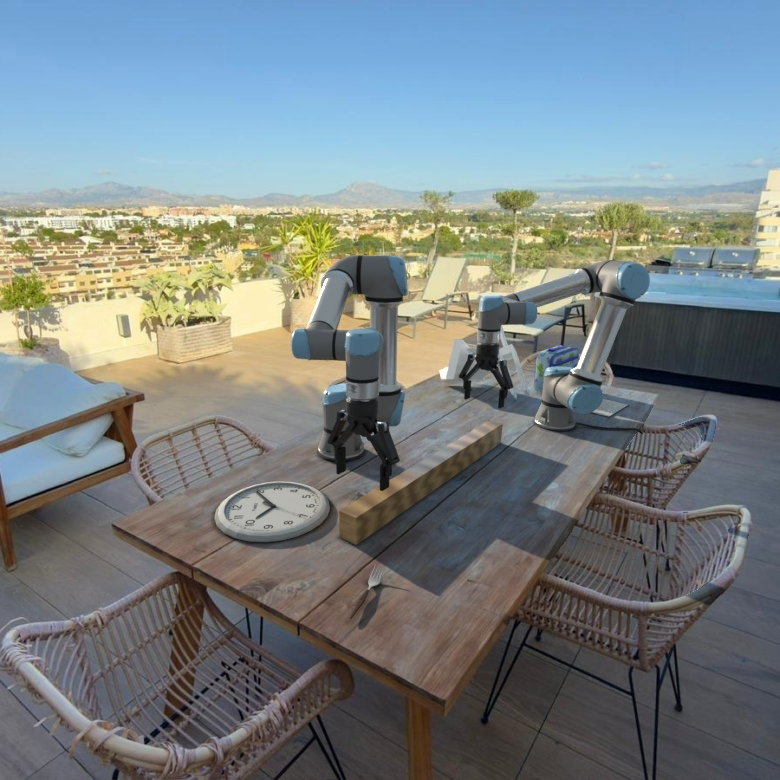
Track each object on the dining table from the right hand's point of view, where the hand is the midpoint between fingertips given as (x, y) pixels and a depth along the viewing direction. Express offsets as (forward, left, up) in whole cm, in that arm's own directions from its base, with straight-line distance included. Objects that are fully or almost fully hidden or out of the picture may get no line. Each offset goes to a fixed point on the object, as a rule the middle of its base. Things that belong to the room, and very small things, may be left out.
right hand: (483, 403), depth 181 cm
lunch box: (-38, -70, -15) cm, 81 cm away
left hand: (+32, +61, -1) cm, 69 cm away
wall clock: (+57, +55, -15) cm, 81 cm away
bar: (+15, +31, -15) cm, 38 cm away
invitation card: (-54, -49, -15) cm, 75 cm away
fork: (+27, +85, -15) cm, 90 cm away
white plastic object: (-2, -61, -15) cm, 63 cm away
